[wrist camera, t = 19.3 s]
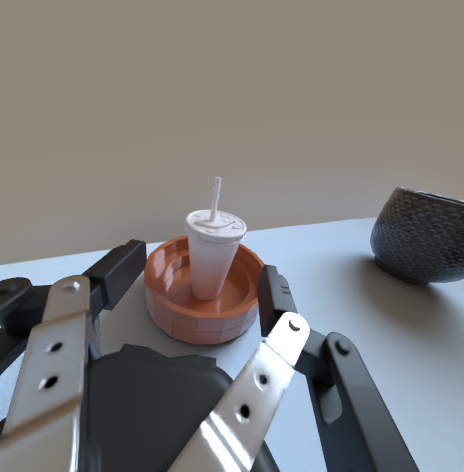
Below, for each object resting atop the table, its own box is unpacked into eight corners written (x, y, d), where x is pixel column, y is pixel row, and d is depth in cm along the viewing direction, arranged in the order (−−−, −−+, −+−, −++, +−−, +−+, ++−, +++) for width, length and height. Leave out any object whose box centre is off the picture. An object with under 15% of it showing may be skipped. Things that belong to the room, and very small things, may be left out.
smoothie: (175, 277, 23) (179, 166, 16) (218, 268, 26) (236, 173, 19) (189, 317, 18) (202, 186, 12) (239, 300, 21) (272, 190, 15)
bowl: (247, 261, 30) (253, 239, 28) (274, 346, 18) (288, 319, 16) (161, 254, 27) (161, 230, 25) (124, 350, 15) (118, 317, 13)
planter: (381, 247, 48) (422, 191, 40) (470, 296, 34) (557, 224, 26) (338, 249, 41) (377, 182, 34) (425, 309, 28) (523, 220, 20)
